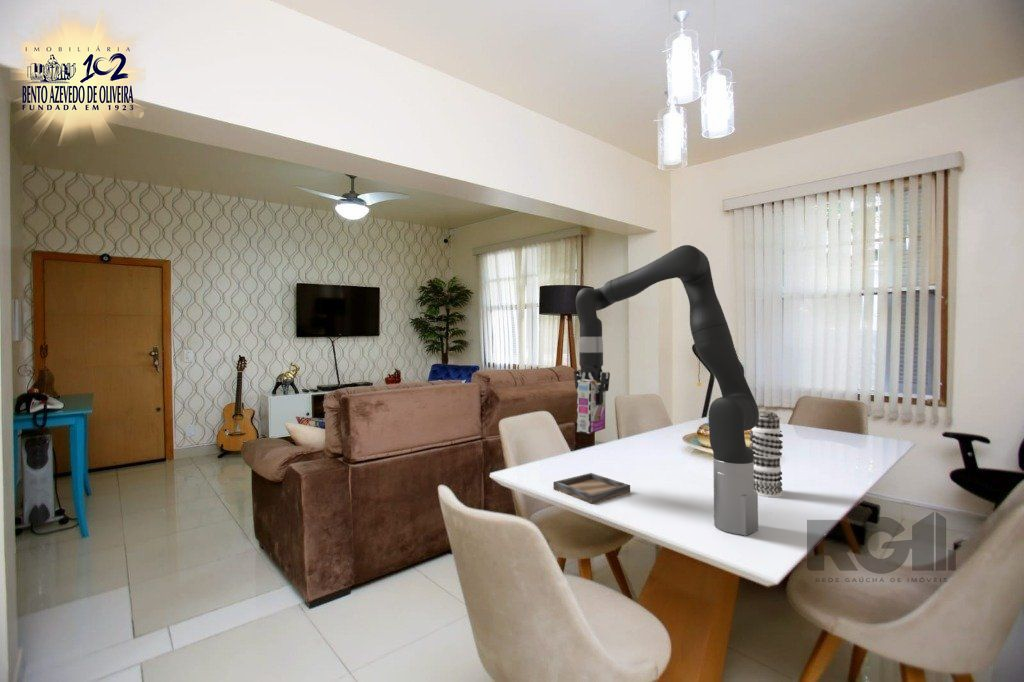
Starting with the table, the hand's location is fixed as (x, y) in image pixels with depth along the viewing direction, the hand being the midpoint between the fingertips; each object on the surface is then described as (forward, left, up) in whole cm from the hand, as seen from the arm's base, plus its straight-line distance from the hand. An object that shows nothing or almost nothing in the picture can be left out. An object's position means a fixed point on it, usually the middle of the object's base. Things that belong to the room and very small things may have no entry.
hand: (591, 403), depth 146 cm
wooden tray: (0, 0, -28) cm, 28 cm away
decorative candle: (-34, -42, -28) cm, 61 cm away
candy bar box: (0, 0, -9) cm, 9 cm away
